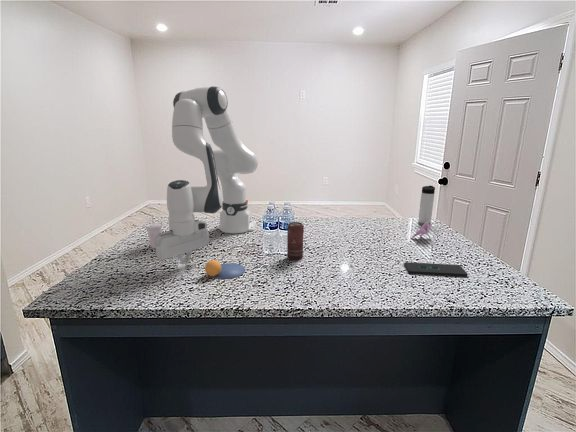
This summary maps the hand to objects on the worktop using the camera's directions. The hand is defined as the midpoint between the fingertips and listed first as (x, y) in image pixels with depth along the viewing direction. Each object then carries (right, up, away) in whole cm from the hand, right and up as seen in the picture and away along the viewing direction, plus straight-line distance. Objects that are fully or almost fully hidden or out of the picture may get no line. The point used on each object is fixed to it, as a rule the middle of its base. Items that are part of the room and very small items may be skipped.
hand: (185, 263), depth 123 cm
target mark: (+16, -2, -2) cm, 16 cm away
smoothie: (-19, +4, +20) cm, 28 cm away
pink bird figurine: (+100, +6, +32) cm, 105 cm away
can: (+40, +1, +10) cm, 42 cm away
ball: (+12, -1, -7) cm, 14 cm away
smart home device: (+91, -3, 0) cm, 91 cm away
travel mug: (+111, +13, +58) cm, 125 cm away
